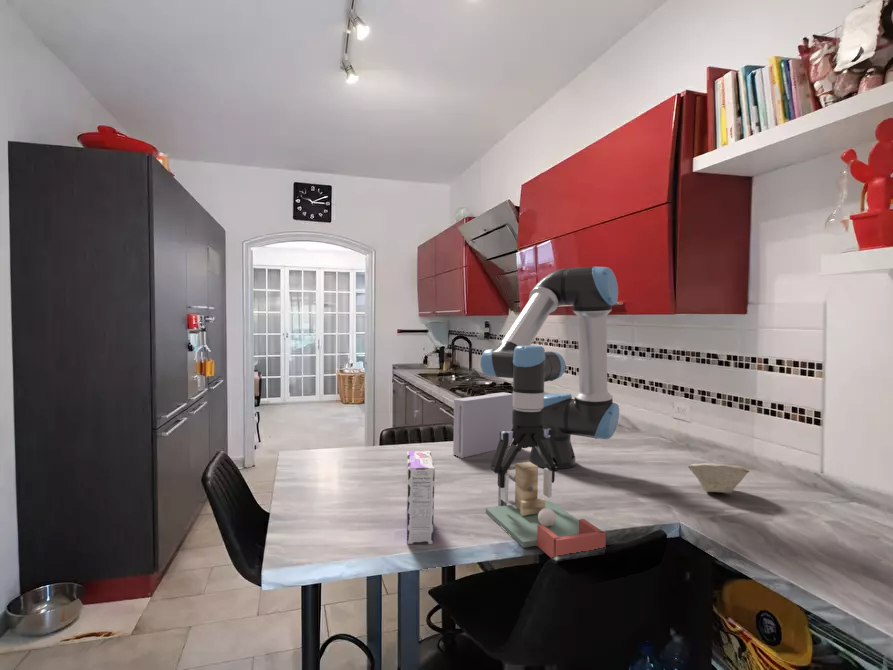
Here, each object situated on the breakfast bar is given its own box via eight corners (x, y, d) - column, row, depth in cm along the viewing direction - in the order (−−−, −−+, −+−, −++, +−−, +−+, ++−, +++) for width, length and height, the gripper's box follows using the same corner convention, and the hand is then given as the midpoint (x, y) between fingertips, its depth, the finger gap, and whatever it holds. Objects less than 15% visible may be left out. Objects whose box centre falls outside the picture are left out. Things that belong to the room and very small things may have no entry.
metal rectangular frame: (524, 502, 131) (525, 463, 130) (527, 504, 129) (528, 465, 129) (498, 505, 128) (499, 465, 128) (500, 507, 127) (501, 467, 126)
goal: (583, 538, 109) (583, 518, 109) (605, 554, 102) (605, 533, 101) (537, 545, 105) (537, 525, 105) (556, 562, 98) (556, 540, 98)
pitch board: (549, 505, 129) (549, 500, 129) (596, 536, 110) (596, 531, 110) (485, 512, 123) (485, 507, 123) (523, 547, 104) (523, 542, 104)
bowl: (741, 488, 144) (742, 454, 144) (754, 505, 131) (755, 467, 131) (684, 482, 149) (685, 449, 149) (691, 497, 136) (692, 461, 135)
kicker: (508, 485, 138) (509, 447, 138) (545, 512, 119) (546, 468, 119) (488, 487, 136) (489, 449, 136) (522, 515, 117) (523, 470, 117)
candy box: (406, 518, 118) (406, 450, 118) (430, 518, 119) (431, 450, 118) (406, 545, 105) (407, 467, 104) (434, 544, 105) (435, 467, 105)
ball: (550, 521, 115) (550, 504, 115) (559, 528, 111) (559, 510, 111) (534, 523, 114) (534, 506, 114) (543, 530, 110) (543, 512, 110)
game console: (450, 455, 175) (451, 398, 175) (501, 443, 194) (502, 392, 193) (462, 458, 171) (463, 400, 171) (513, 445, 190) (514, 393, 189)
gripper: (561, 404, 129) (559, 488, 129) (477, 408, 121) (475, 497, 122) (578, 409, 121) (576, 498, 122) (489, 413, 114) (488, 508, 114)
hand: (526, 498), depth 122 cm, fingers open, 11 cm apart
